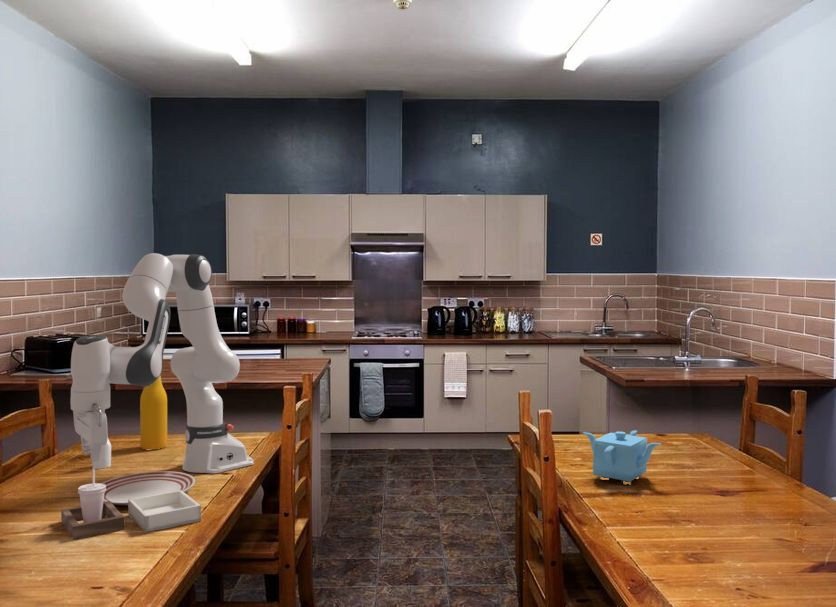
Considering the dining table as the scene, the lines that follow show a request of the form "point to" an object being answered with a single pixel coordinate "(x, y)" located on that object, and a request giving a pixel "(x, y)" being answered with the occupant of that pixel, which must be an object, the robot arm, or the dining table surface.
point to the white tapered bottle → (103, 457)
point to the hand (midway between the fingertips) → (90, 457)
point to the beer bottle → (153, 416)
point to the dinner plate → (145, 485)
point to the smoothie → (92, 500)
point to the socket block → (94, 527)
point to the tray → (164, 510)
